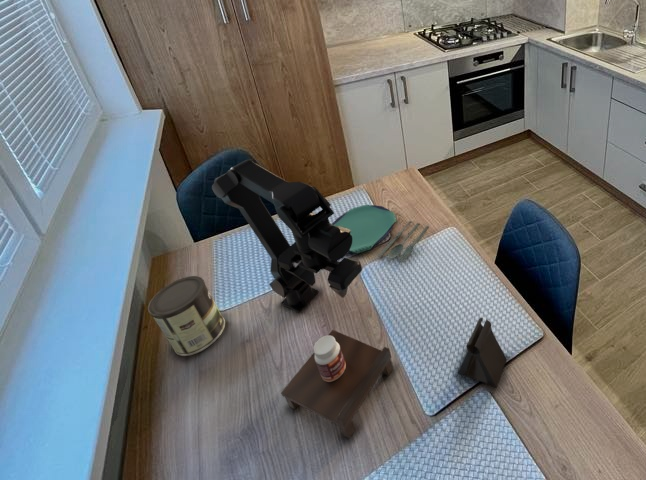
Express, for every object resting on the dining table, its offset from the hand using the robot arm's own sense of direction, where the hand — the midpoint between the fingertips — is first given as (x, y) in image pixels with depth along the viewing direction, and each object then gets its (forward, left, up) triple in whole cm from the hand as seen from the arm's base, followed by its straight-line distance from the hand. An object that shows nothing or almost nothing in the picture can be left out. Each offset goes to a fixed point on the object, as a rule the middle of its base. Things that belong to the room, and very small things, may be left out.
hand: (328, 290), depth 93 cm
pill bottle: (+10, -11, -7) cm, 16 cm away
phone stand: (+37, +3, -12) cm, 39 cm away
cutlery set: (-11, +27, -12) cm, 31 cm away
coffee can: (-30, -14, -12) cm, 35 cm away
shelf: (+11, -11, -12) cm, 20 cm away
